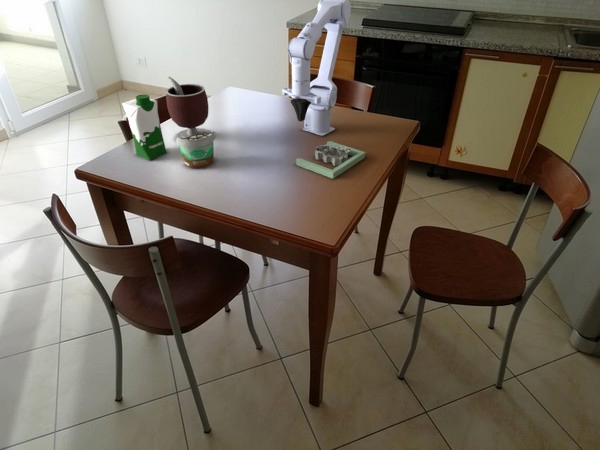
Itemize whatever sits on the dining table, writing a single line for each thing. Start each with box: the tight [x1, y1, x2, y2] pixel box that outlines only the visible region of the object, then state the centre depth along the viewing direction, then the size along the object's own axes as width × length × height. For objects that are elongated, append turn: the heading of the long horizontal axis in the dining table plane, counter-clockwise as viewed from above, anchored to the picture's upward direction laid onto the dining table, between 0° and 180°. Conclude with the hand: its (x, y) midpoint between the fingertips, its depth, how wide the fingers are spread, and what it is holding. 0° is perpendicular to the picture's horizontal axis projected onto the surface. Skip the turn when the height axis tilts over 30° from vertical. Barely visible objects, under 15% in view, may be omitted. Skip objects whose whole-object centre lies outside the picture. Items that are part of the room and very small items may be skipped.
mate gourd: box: [165, 76, 211, 140], centre depth 149 cm, size 16×14×20 cm
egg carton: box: [312, 143, 350, 167], centre depth 137 cm, size 11×8×4 cm
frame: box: [295, 140, 366, 180], centre depth 137 cm, size 14×18×2 cm
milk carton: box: [121, 94, 167, 161], centre depth 137 cm, size 9×9×20 cm
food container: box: [175, 129, 216, 170], centre depth 133 cm, size 12×6×10 cm, turn 117°
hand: (301, 120), depth 141 cm, fingers closed
